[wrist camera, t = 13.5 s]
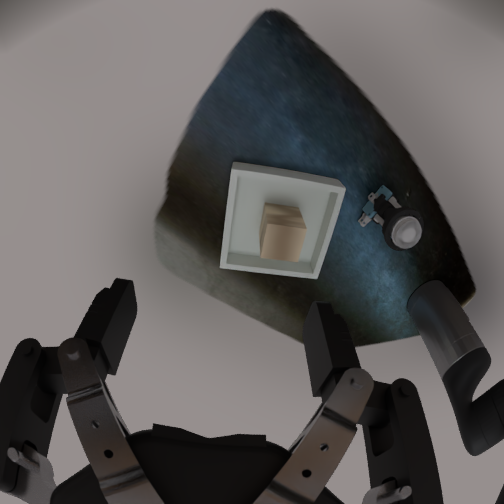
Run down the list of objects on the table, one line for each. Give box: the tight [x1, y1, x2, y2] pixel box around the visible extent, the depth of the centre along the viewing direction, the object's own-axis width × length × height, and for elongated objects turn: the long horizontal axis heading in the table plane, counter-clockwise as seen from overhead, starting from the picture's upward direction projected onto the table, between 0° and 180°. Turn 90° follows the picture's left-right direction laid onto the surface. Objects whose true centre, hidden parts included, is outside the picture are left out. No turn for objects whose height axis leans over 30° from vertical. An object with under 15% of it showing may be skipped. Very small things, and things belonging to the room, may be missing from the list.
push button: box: [358, 185, 424, 251], centre depth 32 cm, size 7×5×10 cm
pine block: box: [259, 202, 307, 262], centre depth 34 cm, size 4×4×6 cm
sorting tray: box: [220, 162, 346, 279], centre depth 36 cm, size 14×14×4 cm
